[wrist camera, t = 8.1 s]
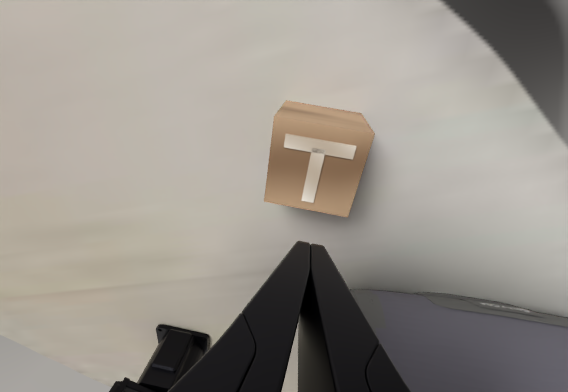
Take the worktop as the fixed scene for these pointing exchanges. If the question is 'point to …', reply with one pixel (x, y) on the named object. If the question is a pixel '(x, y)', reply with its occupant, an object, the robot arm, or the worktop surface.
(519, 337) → the bluetooth speaker
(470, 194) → the worktop surface
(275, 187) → the letter block
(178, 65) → the worktop surface
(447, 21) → the worktop surface
